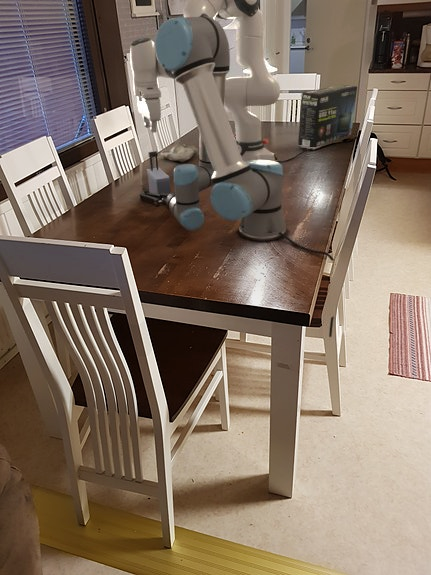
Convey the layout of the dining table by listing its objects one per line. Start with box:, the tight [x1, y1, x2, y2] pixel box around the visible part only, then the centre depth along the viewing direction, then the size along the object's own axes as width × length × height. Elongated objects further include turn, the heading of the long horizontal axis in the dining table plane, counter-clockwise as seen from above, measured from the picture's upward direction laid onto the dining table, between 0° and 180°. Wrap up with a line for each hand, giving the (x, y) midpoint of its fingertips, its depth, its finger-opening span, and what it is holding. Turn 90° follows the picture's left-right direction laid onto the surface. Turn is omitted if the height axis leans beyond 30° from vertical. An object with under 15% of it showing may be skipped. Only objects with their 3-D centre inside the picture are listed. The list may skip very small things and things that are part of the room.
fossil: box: [160, 142, 199, 163], centre depth 229 cm, size 18×11×15 cm
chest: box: [146, 172, 172, 206], centre depth 179 cm, size 14×5×9 cm, turn 21°
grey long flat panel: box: [146, 150, 171, 183], centre depth 174 cm, size 14×5×8 cm, turn 21°
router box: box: [297, 84, 358, 151], centre depth 238 cm, size 36×11×27 cm, turn 134°
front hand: (161, 186), depth 172 cm, fingers open, 13 cm apart
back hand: (150, 129), depth 172 cm, fingers open, 8 cm apart
